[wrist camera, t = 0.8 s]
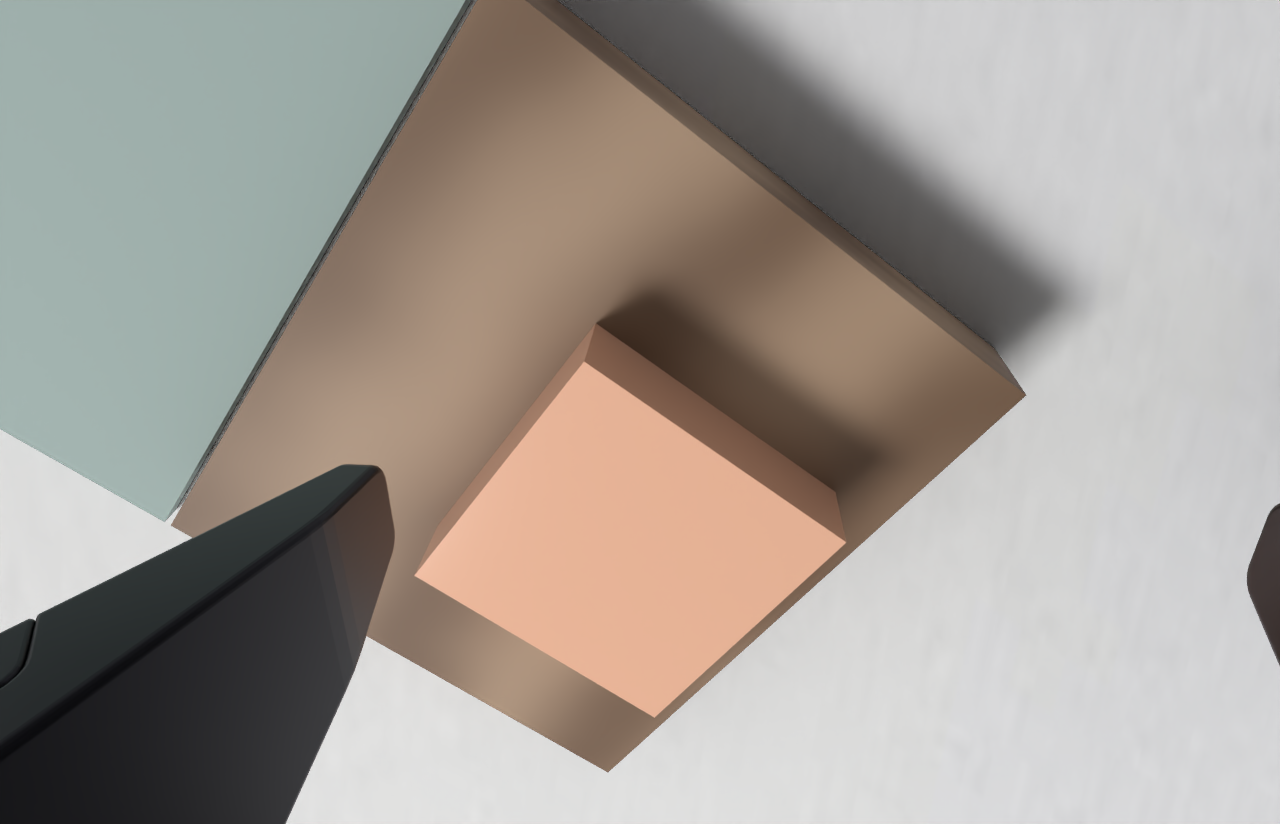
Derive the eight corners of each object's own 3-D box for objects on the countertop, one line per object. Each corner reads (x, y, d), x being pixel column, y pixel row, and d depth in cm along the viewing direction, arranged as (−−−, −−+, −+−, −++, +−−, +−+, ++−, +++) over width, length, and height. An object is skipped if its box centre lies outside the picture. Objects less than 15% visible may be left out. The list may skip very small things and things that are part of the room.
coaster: (835, 492, 21) (846, 542, 19) (658, 660, 24) (654, 717, 22) (595, 323, 20) (584, 361, 18) (437, 525, 23) (414, 575, 21)
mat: (551, -138, 18) (546, -140, 17) (175, 510, 26) (164, 522, 26) (-287, -839, 14) (-327, -870, 14) (-411, 175, 22) (-437, 182, 22)
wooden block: (994, 348, 22) (1026, 395, 20) (615, 707, 29) (607, 772, 26) (518, -31, 19) (492, -26, 16) (217, 474, 25) (171, 525, 23)
